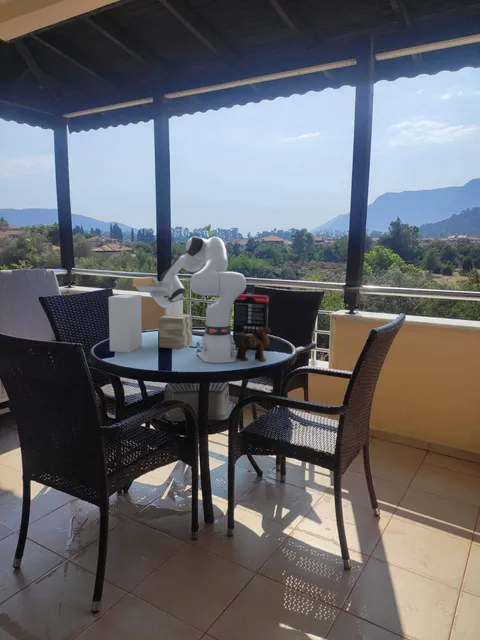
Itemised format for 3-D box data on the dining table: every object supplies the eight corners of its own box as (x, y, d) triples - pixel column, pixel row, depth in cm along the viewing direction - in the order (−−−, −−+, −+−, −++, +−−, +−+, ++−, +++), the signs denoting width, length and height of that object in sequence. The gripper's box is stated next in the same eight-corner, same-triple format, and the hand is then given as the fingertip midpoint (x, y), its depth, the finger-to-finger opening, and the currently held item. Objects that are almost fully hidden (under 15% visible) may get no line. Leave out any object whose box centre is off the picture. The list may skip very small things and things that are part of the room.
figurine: (269, 363, 193) (270, 329, 191) (234, 361, 194) (235, 328, 192) (269, 358, 202) (270, 325, 200) (237, 356, 204) (237, 324, 201)
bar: (148, 284, 239) (148, 276, 238) (155, 284, 238) (155, 276, 237) (132, 286, 220) (132, 278, 220) (140, 286, 220) (140, 278, 219)
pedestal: (170, 341, 236) (170, 313, 233) (192, 342, 233) (192, 314, 231) (159, 347, 220) (159, 317, 218) (182, 348, 218) (182, 318, 216)
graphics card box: (267, 347, 224) (269, 294, 220) (265, 350, 218) (266, 295, 214) (235, 345, 228) (236, 293, 224) (232, 348, 222) (232, 294, 218)
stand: (123, 345, 223) (122, 294, 219) (141, 346, 221) (141, 295, 217) (109, 351, 210) (108, 296, 206) (129, 352, 208) (128, 297, 204)
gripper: (141, 285, 250) (132, 274, 238) (175, 286, 246) (167, 275, 234) (139, 295, 248) (129, 284, 235) (173, 297, 244) (165, 286, 231)
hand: (149, 280), depth 234 cm, fingers closed on bar, 4 cm apart
